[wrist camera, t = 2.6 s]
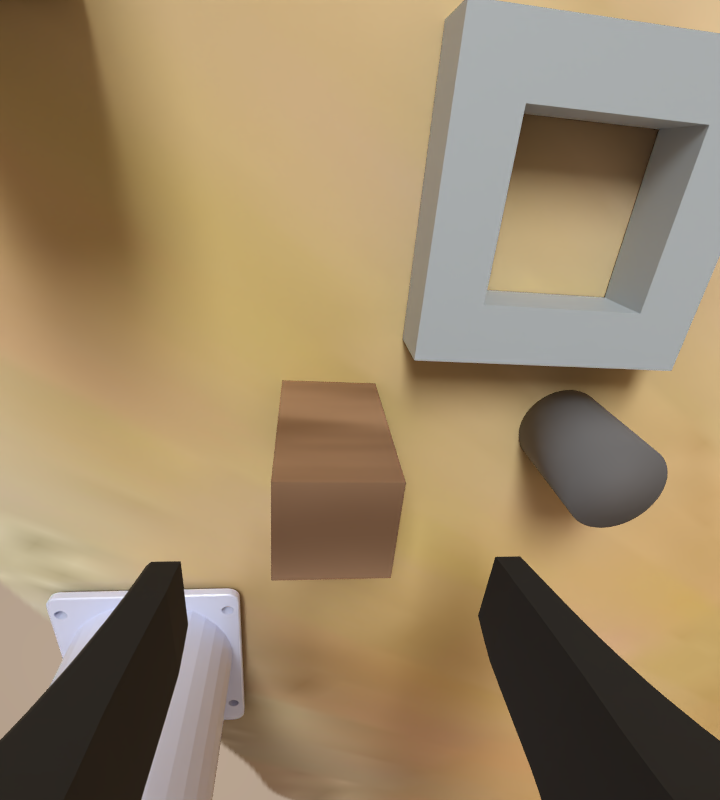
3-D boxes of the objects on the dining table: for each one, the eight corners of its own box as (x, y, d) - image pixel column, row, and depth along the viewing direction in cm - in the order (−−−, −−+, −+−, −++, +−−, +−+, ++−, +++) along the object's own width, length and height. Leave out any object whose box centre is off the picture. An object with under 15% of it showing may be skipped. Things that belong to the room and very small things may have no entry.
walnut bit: (366, 459, 19) (390, 578, 13) (281, 458, 18) (271, 580, 13) (375, 383, 17) (406, 482, 12) (282, 380, 17) (271, 481, 11)
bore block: (634, 349, 18) (671, 370, 16) (402, 338, 16) (414, 360, 15) (742, 61, 14) (807, 46, 12) (445, 20, 12) (468, -4, 11)
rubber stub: (585, 462, 20) (645, 527, 16) (510, 461, 20) (555, 528, 16) (611, 391, 18) (683, 446, 15) (530, 388, 18) (585, 444, 14)
